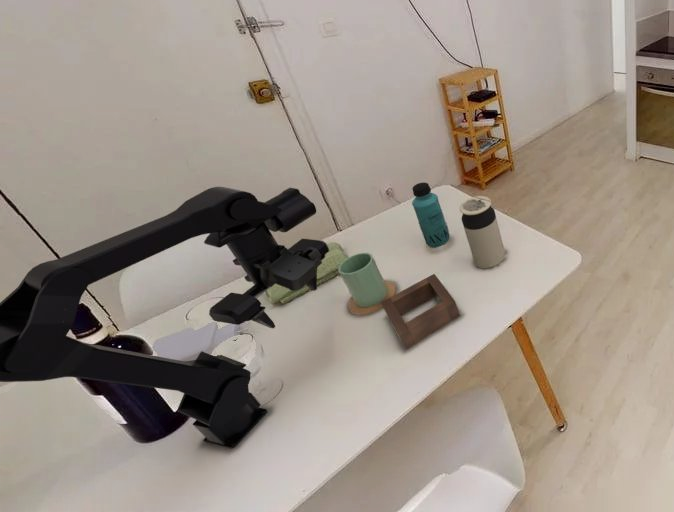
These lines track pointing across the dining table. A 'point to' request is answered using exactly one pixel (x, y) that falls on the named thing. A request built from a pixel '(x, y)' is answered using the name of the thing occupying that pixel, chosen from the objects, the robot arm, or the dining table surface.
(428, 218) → the beverage bottle
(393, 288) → the coaster
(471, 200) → the travel mug
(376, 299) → the cup
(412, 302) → the cup holder
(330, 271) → the washcloth
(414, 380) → the dining table surface
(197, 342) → the charger
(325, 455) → the dining table surface
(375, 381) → the dining table surface
